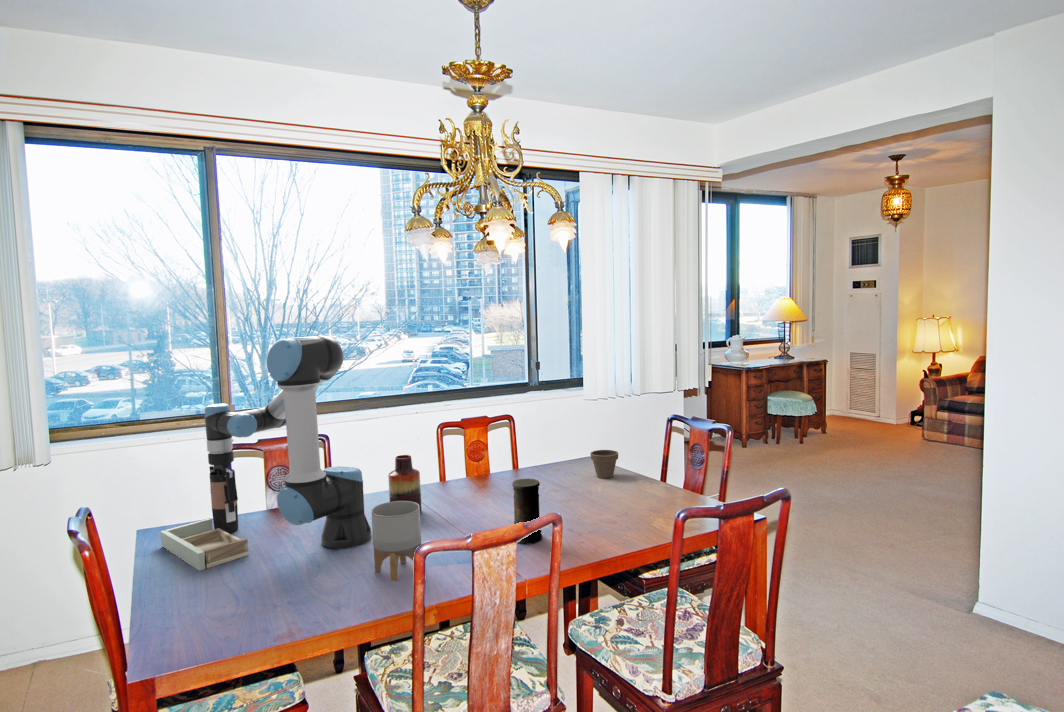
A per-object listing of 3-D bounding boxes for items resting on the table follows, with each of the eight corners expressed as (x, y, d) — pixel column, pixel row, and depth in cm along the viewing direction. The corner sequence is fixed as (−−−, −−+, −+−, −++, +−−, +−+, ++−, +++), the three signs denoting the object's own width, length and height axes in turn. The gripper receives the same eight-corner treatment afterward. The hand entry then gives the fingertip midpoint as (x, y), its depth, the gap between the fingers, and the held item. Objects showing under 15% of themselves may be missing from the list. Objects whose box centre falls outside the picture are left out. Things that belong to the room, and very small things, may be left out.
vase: (384, 517, 224) (381, 459, 222) (401, 507, 234) (398, 452, 232) (410, 520, 220) (407, 461, 218) (427, 510, 230) (424, 453, 228)
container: (512, 534, 204) (510, 478, 202) (540, 532, 204) (538, 477, 203) (513, 545, 195) (511, 487, 193) (543, 543, 196) (541, 485, 194)
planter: (417, 580, 173) (414, 515, 171) (369, 581, 173) (365, 516, 171) (426, 560, 186) (423, 500, 184) (381, 561, 186) (378, 501, 184)
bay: (251, 553, 194) (250, 537, 194) (199, 570, 183) (198, 553, 183) (211, 532, 213) (209, 518, 213) (161, 546, 202) (160, 531, 202)
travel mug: (229, 535, 210) (224, 475, 208) (208, 534, 212) (203, 474, 210) (244, 527, 218) (239, 469, 216) (224, 526, 219) (219, 468, 217)
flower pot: (591, 472, 272) (591, 449, 271) (618, 472, 270) (618, 449, 269) (590, 480, 260) (589, 455, 259) (618, 480, 259) (618, 456, 258)
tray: (248, 554, 194) (247, 538, 193) (207, 568, 185) (205, 551, 184) (219, 539, 207) (218, 524, 206) (179, 551, 198) (178, 535, 197)
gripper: (246, 453, 208) (251, 521, 210) (218, 444, 222) (223, 509, 224) (222, 457, 203) (227, 528, 205) (195, 449, 216) (201, 515, 218)
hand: (225, 518), depth 214 cm, fingers closed on travel mug, 8 cm apart
